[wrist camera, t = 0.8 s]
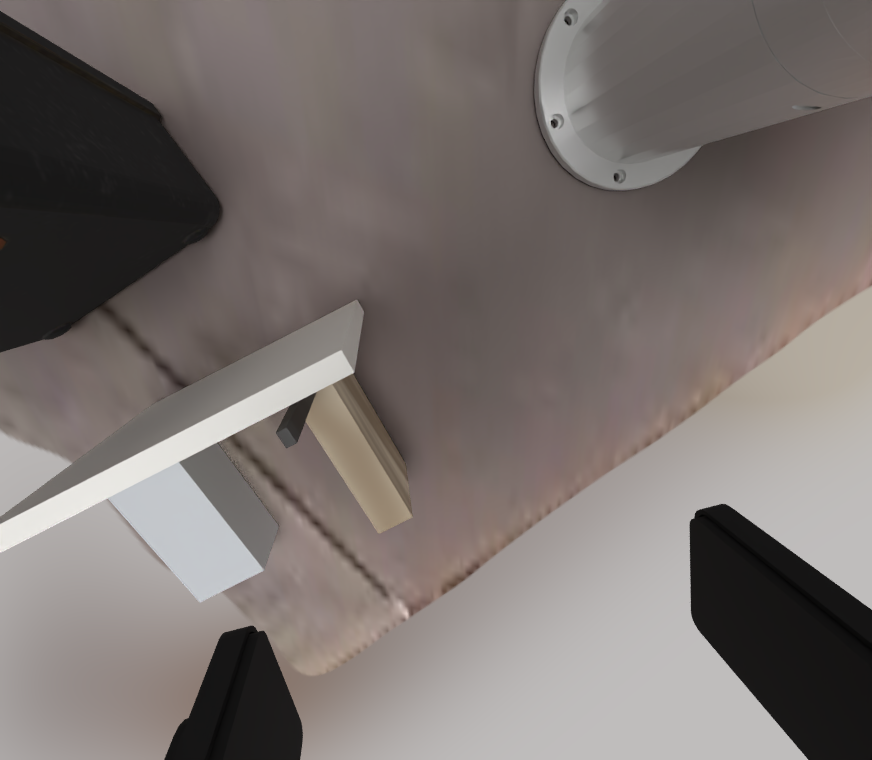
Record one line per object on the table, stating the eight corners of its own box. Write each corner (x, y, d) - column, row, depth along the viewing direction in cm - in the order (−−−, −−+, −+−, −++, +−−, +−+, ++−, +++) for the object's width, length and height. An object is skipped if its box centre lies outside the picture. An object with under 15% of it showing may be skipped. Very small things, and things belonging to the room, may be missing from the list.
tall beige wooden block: (335, 343, 31) (307, 416, 18) (405, 464, 35) (423, 597, 22) (304, 359, 31) (255, 443, 18) (378, 478, 35) (379, 618, 22)
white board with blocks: (357, 299, 31) (341, 349, 17) (437, 446, 35) (479, 587, 21) (115, 422, 31) (-99, 574, 17) (223, 554, 36) (121, 763, 21)
